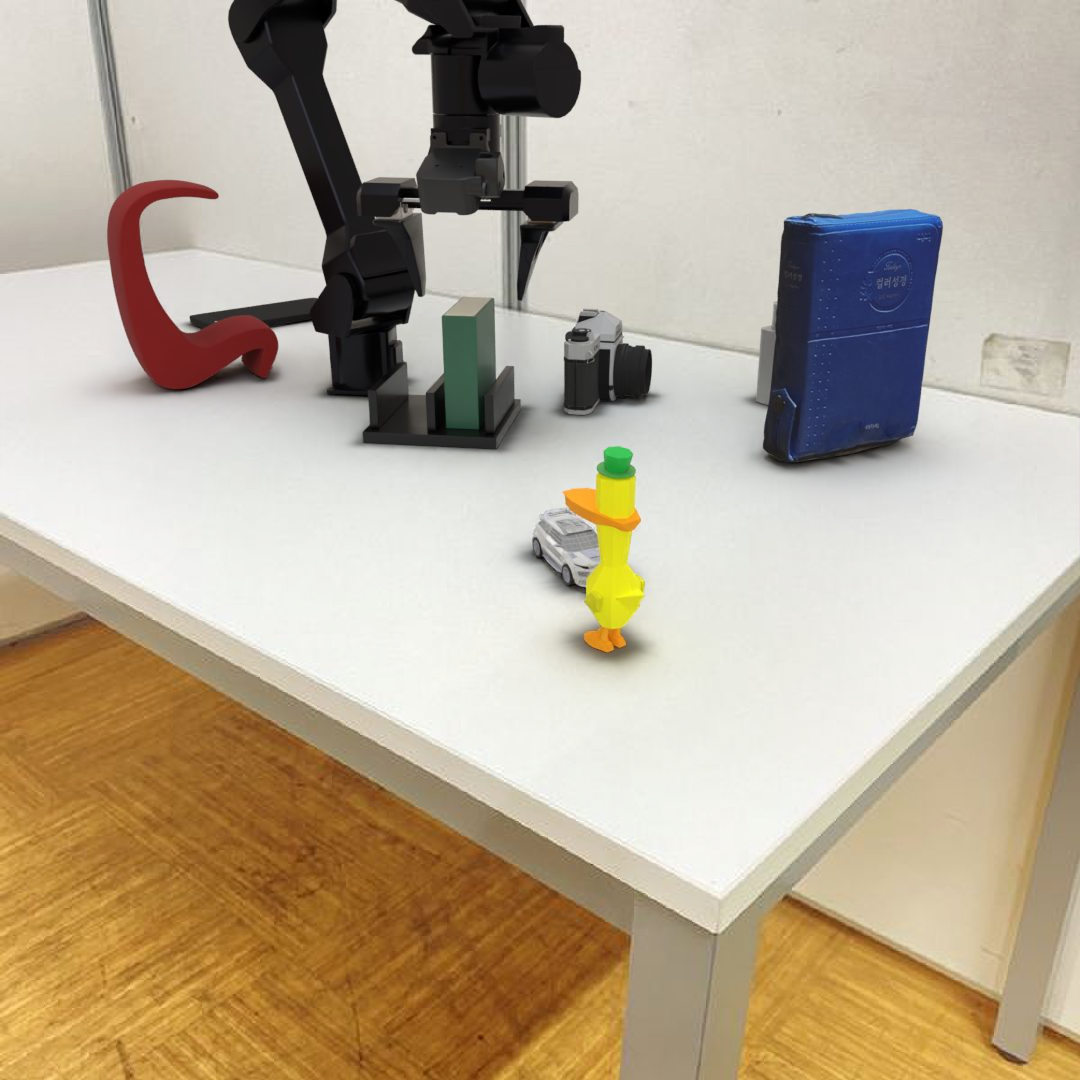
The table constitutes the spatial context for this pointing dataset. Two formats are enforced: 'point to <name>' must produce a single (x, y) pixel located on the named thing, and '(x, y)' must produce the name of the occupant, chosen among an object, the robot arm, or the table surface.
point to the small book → (468, 360)
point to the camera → (602, 363)
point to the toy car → (567, 545)
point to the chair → (145, 321)
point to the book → (850, 331)
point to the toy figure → (611, 546)
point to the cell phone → (262, 313)
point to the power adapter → (766, 360)
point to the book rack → (435, 413)
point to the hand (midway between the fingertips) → (470, 298)
